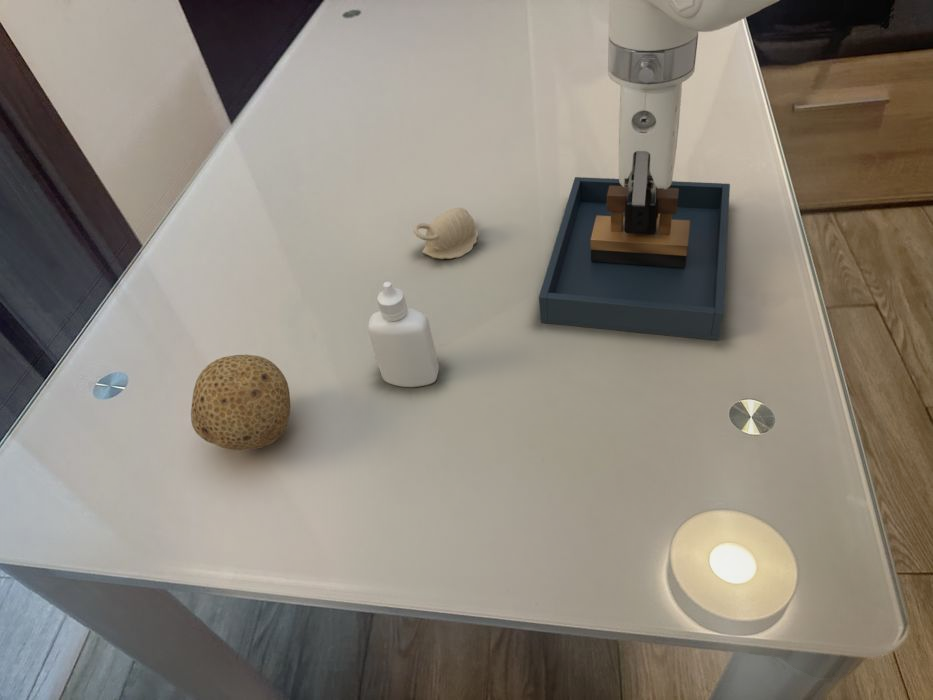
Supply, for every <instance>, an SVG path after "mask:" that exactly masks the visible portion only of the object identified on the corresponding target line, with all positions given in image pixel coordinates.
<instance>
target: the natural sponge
mask: <svg viewBox="0 0 933 700" xmlns="http://www.w3.org/2000/svg"><path fill="white" fill-rule="evenodd" d="M194 383H195V384H194V387H193V393H192V399H191V409H190V421H191V422H190V423H191V427H192V428H193V430H194V432H195V433H196V435H198V436H199V437H200V438H201V439H202V440H203V441H206V442H207V443H209V444H213V445H215V446H217V447H220V448H222V449H225V450H226V449H227V450H232V451H239V452H240V451H241V452H242V451H248V450H254V449H255V450H256V449H261V448H265V447H266V446H269V445H271V444H273V443H274V442H275V441H276V440H278V439H279V438H280V437H281V436H282V435H283V433H284V432H285V431H286V428H287V426H288V423H289V418H290V415H291V405H292V404H291V393H290V388H289V384H288V381H287V379H286V377H285V374H284V373H283V372H282V370H281V369H280V368H279V367H278V366H277V365H276V364H275V363H273V361H271V360H269V359H268V358H265V357H263V356H260V355H253V354H235V355H229V356H223V357H220V358H218V359H216V360H213V361H212V362H210V363H209V364H207V366H206V367H205V368H204V369H202V371H201V372H200V373H199V375H198V376H197V378H196V381H195V382H194Z"/></svg>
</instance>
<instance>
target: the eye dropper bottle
mask: <svg viewBox="0 0 933 700" xmlns="http://www.w3.org/2000/svg"><path fill="white" fill-rule="evenodd" d="M382 289H383V290H381V291H380V292H379V293H378V294H377V297H376V299H377V300H376V301H377V305H378V308H379V310H377V311H376V312H374V313H372V315H371V316H370V319H369V321H368V325H367V331H368V336H369V339H370V343H371V346H372V349H373V352H374V355H375V360H376V361H377V365H378V369H379V371H380V375H381V378H382V380H383V381H384V382H385V383H387V384H390V385H393V386H397V387H401V388H402V387H403V388H418V387H425V386H428V385H431V384H433V383H435V382H436V380H437V378H438V375H439V370H440V365H439V361H438V357H437V351H436V347H435V342H434V338H433V334H432V330H431V325H430V322H429V318H428V316H427V315H426V314H425V313H424V312H421V311H420V310H418V309H414V308H412V307H408V305H407V302H406V298H405V293H404V291H403V290H402V289H400V288H398V287H394V286H393V284H392V283H391V282H390V281H385V282H384V283H383V284H382Z"/></svg>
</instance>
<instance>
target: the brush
mask: <svg viewBox="0 0 933 700" xmlns="http://www.w3.org/2000/svg"><path fill="white" fill-rule="evenodd" d="M647 189H650V192H651V187H647ZM678 192H679V189H678V188H667V189H664V188H657V190H656V200H658V212H657V214H660V219H657V225H656V233H655V234H653V235H647V234H630V233H626V232H625V231H624V228H625V217H623V213H624V212H625V203H626V198H627V193H628V186H625V188H624V187H623V186H609V189H608V193H607V211H611V216H596V219H595V223H594V228H593V232H592V236H591V261H593V262H607V263H621V264H635V265H649V266H663V267H677V268H685V265H686V257H687V249H688V239H689V229H690V220H672V214H676V211H677V202H678Z"/></svg>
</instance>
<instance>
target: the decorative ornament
mask: <svg viewBox="0 0 933 700" xmlns="http://www.w3.org/2000/svg"><path fill="white" fill-rule="evenodd" d="M420 229H425V230H426V232H425V234H422V233H420V232H419V230H420ZM413 234H414V235H415V236H416V237H417V238H419V239H420V240H423V241H425V246H424V247H423V249H422V250H421V252H422V254H425V255H426V256H429V257H432V258H433V259H439V260H444V259H447V260H451V259H457V258H461V257H463V256H465V255H466V254H468V253H470V252H471V251H472V249H473V247H474V245H475V244H477V238H479V232H478V230H477V228H476V225H475V220H474V218H473V216H472V215H471V214H470V212H469V211H468V210H466V209H465V208H463V207H455V208H452V209H449V210H447V211H446V212H444V213H442V214H440V215H438V216H436V218H435V219H433V220H432V221H431V222H430V223H426V222H424V223H423V222H421V223H417V224H416V225H414V227H413Z"/></svg>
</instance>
